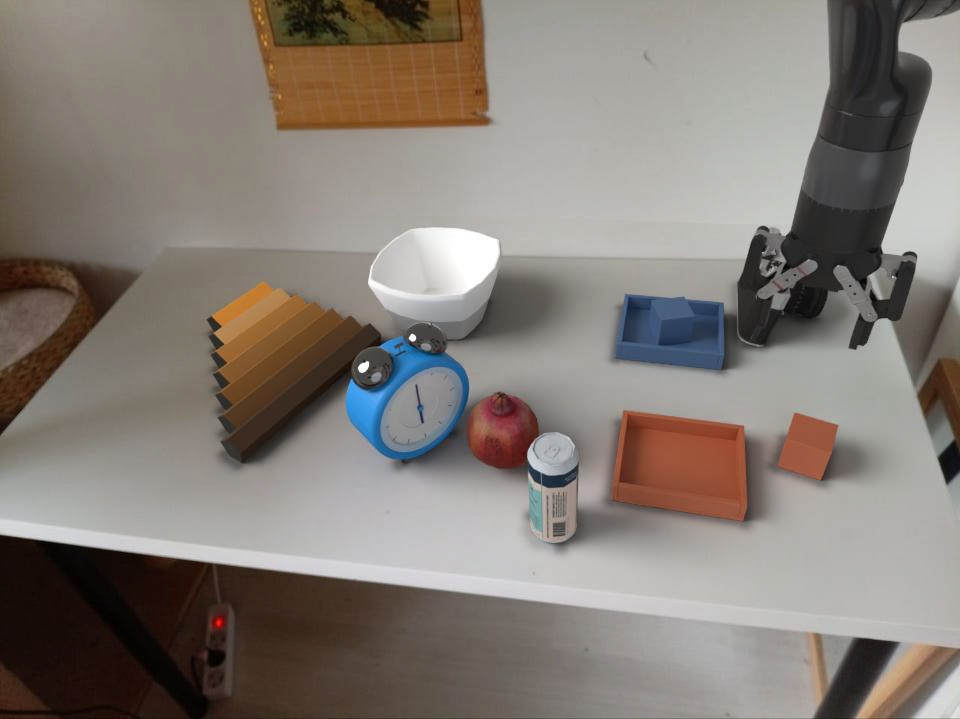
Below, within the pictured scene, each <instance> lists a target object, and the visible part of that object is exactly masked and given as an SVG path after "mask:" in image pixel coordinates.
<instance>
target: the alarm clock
mask: <svg viewBox="0 0 960 719" xmlns="http://www.w3.org/2000/svg"><path fill="white" fill-rule="evenodd" d="M448 341H449V339H447V337H446V335H445V333H444V332H443V330H441V329H440V328H439V327H438V326H436V325H434V324H432V323H431V322H430V323H427V322H419V323H415V324H412V325H411V326H409V327H408V328H407V329H406V331H404V333H403V335H402V336H399V337H395V338H392V339H390V340H388V341H385V342H384V343H382V344H380V345H379V346H378V347H369V348H366V349H364V350H363V351H361V352H360V353H359V354H358V355H357V356H356V357H355V359H354V361H353V363H352V366H351V370H350V376H351V379H350V381H349V384H348V387H347V391H346V396H345V409H346V414H347V418H348V419H349V421H350V423H351V425H352V426H353V427H354V428H355V429H356V430H357V431H358V432H359V433H360V434H361V435H362V436H363V437H364V438H365V439H366V441H367V442H369V443H370V445H371V446H372V447H373V448H374V449H375V450H376V451H377V452H378V453H379V454H381V455H382V456H384V457H385V458H389V459H392V460H400V464H405V461H406V460H408V459H413V458H416V457H419V456H421V455H424V454H426V453H427V452H429V451H431V450H432V449H433V448H435V447H437V446H438V445H440V443H441V442H443V441H444V440H445V439H446V438H447V437H448V436H449V435H451V434H452V431H453V430H454V429H455V427H456V426H457V424H458V423H459V421H460V420H461V418H462V416H463V415H464V412H465V409H466V407H467V404H468V400H469V395H470V381H469V376H468V374H467V371H466V370H465V368H464V367H463V365H462V364H461V363H460V362H459V361H458V360H456V359H455V358H454V357H452V356H451V355H450V354H449V353H447V352H446V351H447V349H448V345H449V342H448Z"/></svg>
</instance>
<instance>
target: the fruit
mask: <svg viewBox="0 0 960 719" xmlns="http://www.w3.org/2000/svg"><path fill="white" fill-rule="evenodd" d="M465 429H466V430H465V431H466V437H467V438H466V439H467V443H468V444H467V445H468V447H469V449H470V451H471V454H472V455H473V457H475V458H476V460H478V461H479V462H481V463H483V464H484V465H486V466H489V467H491V468H494V469H498V470H513V469H515V468H518V467H522V466H524V465H525V464H526V463H528V459H527V454H528V449H529V448H530V446H531V444H532V443H533V442H534V440H535V439H536V438H538V437H539V436H541V435H540V426H539V420H538V417H537V415H536V413H535V412H534V411H533V409H532V408H531V407H530V405H529V404H528V403H527V402H525V401H524V400H522V399H521V398H520V397H518V396H515V395H512V394H507V393H505V392H503V391H497V392H493V394H492V395H490V396H487V397H485V398H483V399H480V401H479V402H478V403H477V404H476V405H475V406H474V407H472V409H471V411H470V414H469V417H468V421H467V423H466V428H465Z"/></svg>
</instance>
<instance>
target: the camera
mask: <svg viewBox="0 0 960 719" xmlns="http://www.w3.org/2000/svg"><path fill="white" fill-rule="evenodd" d="M768 228H769V230H770V233H774V234H778V235H782V233H781V230H780V229H779V228H778V227H774V226H771V227H768ZM785 261H786V260H785V258H784V257H783V255H782V253H781V249H775V250H773V251H772V253H771V254H770V255H769V256H764V257H762V260H761V264H760V267H759V271H758V273H759V274H761V275H763V276H765V277H766V276H767V275H768V274H770V273H771V272H773V271H774V270H776V269H777V268H778V267H779V266H780V265H781V264H782V263H783V262H785ZM742 273H743V271H742ZM742 273H741V274H740V277H739V279H738V281H737V282H736V324H737V325H736V327H737V329H736V330H737V333H736V334H737V337H738V338H739V340H740V341H742V342H743V343H745V344H746V345H750V346H754V347H758V348H763V347H764V346H765V344H766V342H767V340H768V339H769V337H770V335H771V333H772V331H773V330H774V327H775V326H776V324H777V322H778V320H779V318H780V317H781V315H783V316H784V314H788V315H792V314H794V315H798V316H800V317H802V318H809V319H813V318H817V317H819V316H820V315H821V314H822V312H823V310H824V308H825V305H826V303H827V300H828V296H829V291H828V290H825V289H823V288H821V287H807V286H802V284H803V283H801V282H799V281H796V282H795V283H793V284H792V285H790V286H789V287H787V288H786V289H784V290H782V289H781V290H779V291H778V292H776V293H775V294H774V297H773V301H772V306H771V310H770V314H769V318H768V321H767V323H766V326H765V328H760V327H757V326H758V322H756V321H754V320H753V312H754V308H755V303H756V298H757V295H756V293H755V292H754V291H752V290H750V289H748V290H745V289H742V288H741V287H740V280H741V276H742Z"/></svg>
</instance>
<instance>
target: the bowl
mask: <svg viewBox="0 0 960 719" xmlns="http://www.w3.org/2000/svg"><path fill="white" fill-rule="evenodd" d="M502 261H503V250H502V243H501V242H500V240H499V239H497V238H495V237H492V236H489V235H487V234H484V233H482V232H478V231H474V230H469V229H464V228H459V227H440V226H439V227H438V226H432V227H417V228H411V229H408V230H406V231H405V232H403V233H402V234H400V235H398V236H397V237H395V238H393V239H392V240H390V242H389V243H388V244H387V245H386V246H384V247H383V248H382V249H381V250H380V251H379V252H378V254H377V255H376V257H375V258H374V260H373V262H372V264H371V265H370V268H369V269H370V270H369V275H368V280H367V281H368V284H367V285H368V286H369V288H370V289H371V291H372V292H373V294H374V295H375V297H376V298H377V300H378V301H379V302H380V304H381V305H382V307H383V308H384V309H385V310H386V312H387V313H388V315H389V316H390V318H391V319H392V321H393V322H394V323H395V325H396V326H397V328H398V329H399V330H401V331H404V332H405V331H406V329H407V328H408V327H409V326H411V325H412V324H415V323H419V322H427V323H430V322H431V323H432V324H434V325H436V326H438V327H439V328H440V329H441V330H443V332H444V333H445V335H446V337H447V340H461V339H465V337H467V336H468V335H469V334H471V333H472V331H474V330H475V329H476V328H477V327H478V325H479V324H480V323H481V322H482V320H483V319H484V316H485V313H486V311H487V310H486V309H487V306H488V304H489V300H490V297H491V295H492V292H493V288H494V286H495V283H496V280H497V277H498V274H499V270H500V267H501V264H502Z"/></svg>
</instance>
